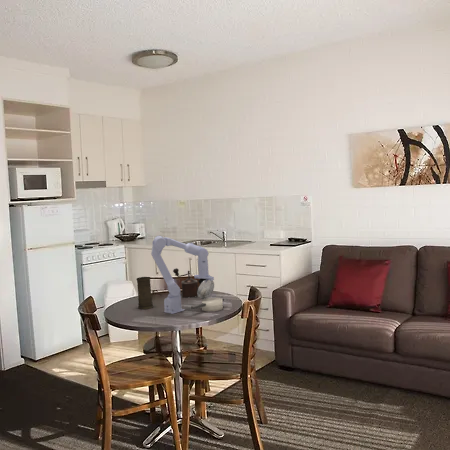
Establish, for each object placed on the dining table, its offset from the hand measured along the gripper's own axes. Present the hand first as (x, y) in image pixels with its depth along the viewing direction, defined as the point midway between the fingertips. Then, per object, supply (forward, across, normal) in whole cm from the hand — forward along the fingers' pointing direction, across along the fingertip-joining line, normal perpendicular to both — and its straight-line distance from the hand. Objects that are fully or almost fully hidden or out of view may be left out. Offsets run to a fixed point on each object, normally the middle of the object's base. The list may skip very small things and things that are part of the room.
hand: (204, 291), depth 284 cm
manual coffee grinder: (+10, +34, -15) cm, 39 cm away
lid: (-2, -2, 0) cm, 2 cm away
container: (+10, +32, +19) cm, 39 cm away
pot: (+9, -6, +3) cm, 11 cm away
